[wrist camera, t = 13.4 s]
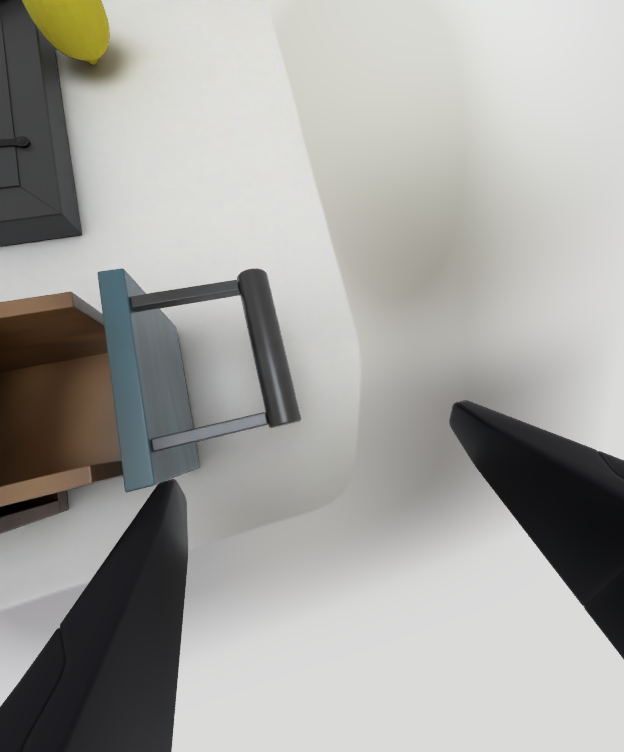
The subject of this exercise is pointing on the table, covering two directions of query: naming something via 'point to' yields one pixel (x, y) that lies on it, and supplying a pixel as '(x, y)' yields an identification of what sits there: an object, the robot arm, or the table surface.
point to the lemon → (72, 26)
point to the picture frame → (32, 136)
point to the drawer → (118, 385)
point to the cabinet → (32, 510)
